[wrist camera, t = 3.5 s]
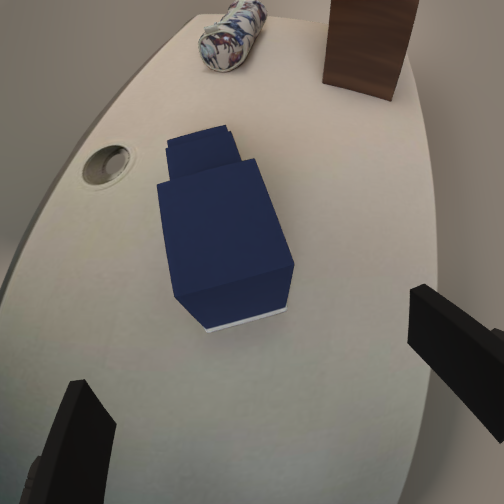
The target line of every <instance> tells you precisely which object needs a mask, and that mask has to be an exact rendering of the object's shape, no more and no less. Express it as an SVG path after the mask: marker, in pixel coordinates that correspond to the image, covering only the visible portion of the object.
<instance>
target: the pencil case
mask: <svg viewBox="0 0 504 504" xmlns="http://www.w3.org/2000/svg"><path fill="white" fill-rule="evenodd" d="M266 19H267V10H266V8H265V6H264V5H263V4H262V3H261V2H259V1H257V0H237V1H235V2H234V3H232V4H231V5H230V7H229V9H228V12H227V14H226V15H225V16H224V17H222V19H221V21H220V22H219V23H218V24H217V22H216V23H214V25H213V26H208V27H204V30H205V32H204V34H203V35H202V36H201V38H200V39H199V42H198V48H199V52H200V55H201V58H202V60H203V62H204V63H205V64H206V65H207V66H208V67H209V68H211V69H213V70H216V71H220V72H228V71H231V70H233V69H235V68H236V67H238V66H239V65H240V64H242V63H243V62H244V60H245V59H246V57H247V54H248V52H249V50H250V48H251V46H252V44H253V42H254V40H255V39H256V37H257V35H258V33H259V32H260V30H261V28H262V27H263V25H264V23H265V21H266Z"/></svg>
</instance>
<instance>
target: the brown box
mask: <svg viewBox="0 0 504 504" xmlns="http://www.w3.org/2000/svg"><path fill="white" fill-rule="evenodd" d="M418 4H419V0H331V7H330V18H329V28H328V38H327V47H326V56H325V65H324V73H323V81H322V83H324V84H328V85H332V86H337V87H341V88H345V89H349V90H353V91H357V92H360V93H364V94H367V95H371V96H374V97H378V98H381V99H384V100H388V101H392V97H393V94H394V91H395V88H396V85H397V81H398V78H399V75H400V72H401V68H402V65H403V61H404V58H405V54H406V51H407V47H408V43H409V40H410V36H411V32H412V28H413V24H414V20H415V16H416V12H417V8H418Z"/></svg>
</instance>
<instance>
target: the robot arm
mask: <svg viewBox="0 0 504 504" xmlns="http://www.w3.org/2000/svg"><path fill="white" fill-rule="evenodd" d="M407 343H408V344H409V345H410V346H411V347H412V348H413V349H414V351H415V352H416V353H417V354H418V355H419V356H420V357H421V358H422V359H423V360H424V361H425V362H426V363H427V364H428V365H429V366H430V367H431V368H432V369H433V370H434V371H435V372H436V373H437V375H438V376H439V377H440V378H441V379H442V380H443V381H444V382H445V383H446V384H447V385H448V386H449V387H450V388H451V389H452V391H454V393H455V394H456V395H457V396H458V397H459V398H460V399H461V400H462V401H463V403H465V405H466V406H467V407H468V408H469V409H470V410H471V411H472V412H473V414H474V415H475V416H476V417H477V418H478V419H479V420H480V421H481V423H482V424H483V425H484V426H485V427H486V428H487V429H488V430H489V432H490V433H491V434H492V435H493V436H494V437H495V439H496V440H497V441H498V442H499V443H502V442H503V441H504V331H501V330H499V329H496V328H494V329H493V330H491V331H490V330H488V329H487V328H486V327H484V326H483V325H482V324H480V323H479V322H478V321H476V320H475V319H474V318H472V317H471V316H469V315H468V314H467V313H466V312H464V311H463V310H461V309H460V308H459V307H457V306H456V305H454V304H453V303H452V302H450V301H449V300H447V299H446V298H445V297H443V296H442V295H440V294H439V293H437V292H436V291H435V290H433V289H432V288H430V287H429V286H427V285H426V284H422V285H420V286H417V287H415V288H412V289H410V308H409V327H408V341H407ZM116 425H117V424H116V423H115V421H114V420H113V419H112V417H111V416H110V415H109V413H108V412H107V411H106V409H105V408H104V407H103V405H102V404H101V402H100V401H99V400H98V398H97V397H96V395H95V394H94V392H93V391H92V389H91V388H90V386H89V385H88V383H87V382H86V380H85V379H83V380H76V381H70V383H69V385H68V387H67V390H66V392H65V395H64V397H63V399H62V402H61V404H60V407H59V409H58V412H57V414H56V417H55V419H54V422H53V425H52V427H51V430H50V433H49V435H48V438H47V441H46V444H45V447H44V450H43V452H42V455H41V456H38V457H37V458H36V459H35V461H34V462H33V463H32V465H31V467H30V470H29V473H28V476H27V478H28V479H26V482H25V488H24V489H23V492H22V496H21V499H20V503H19V504H103V503H104V495H105V488H106V481H107V475H108V468H109V462H110V456H111V451H112V445H113V440H114V435H115V430H116Z"/></svg>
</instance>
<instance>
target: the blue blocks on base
mask: <svg viewBox="0 0 504 504" xmlns="http://www.w3.org/2000/svg"><path fill="white" fill-rule="evenodd" d="M167 143H168V148H166V156H167V164H168V170H169V177H170V181H167V182H163V183H160V184H157V191H158V199H159V206H160V214H161V221H162V228H163V234H164V241H165V247H166V253H167V259H168V265H169V271H170V276H171V282H172V287H173V292H174V297H175V298H176V299H177V300H178V301H179V302H180V304H181V305H182V306H183V307H184V308H185V309H186V310H187V311H188V312H189V313H190V314H191V315H192V316H193V317H194V318H195V319H196V320H197V321H198V322H199V323H200V324H201V325H202V326H203V327H204V330H205V331H206V332H207V333H209V332H213V331H217V330H221V329H225V328H228V327H232V326H236V325H239V324H243V323H247V322H250V321H254V320H257V319H261V318H264V317H268V316H271V315H275V314H278V313H282V312H285V311H287V304H286V303H287V298H288V293H289V289H290V284H291V279H292V274H293V269H294V261H293V259H292V256H291V253H290V250H289V248H288V245H287V242H286V239H285V237H284V234H283V231H282V229H281V226H280V223H279V221H278V218H277V215H276V213H275V210H274V207H273V205H272V202H271V200H270V197H269V194H268V192H267V189H266V187H265V184H264V181H263V179H262V176H261V174H260V171H259V169H258V166H257V163H256V161H255V159H254V158H253V159H249V160H245V161H242V160H241V158H240V155H239V152H238V149H237V146H236V144H235V141H234V138H233V135H232V133H231V131H229V132H228V130H227V127H226V125H222V126H218V127H214V128H210V129H206V130H202V131H198V132H195V133H191V134H187V135H184V136H180V137H177V138H173V139H170V140H167Z"/></svg>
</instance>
